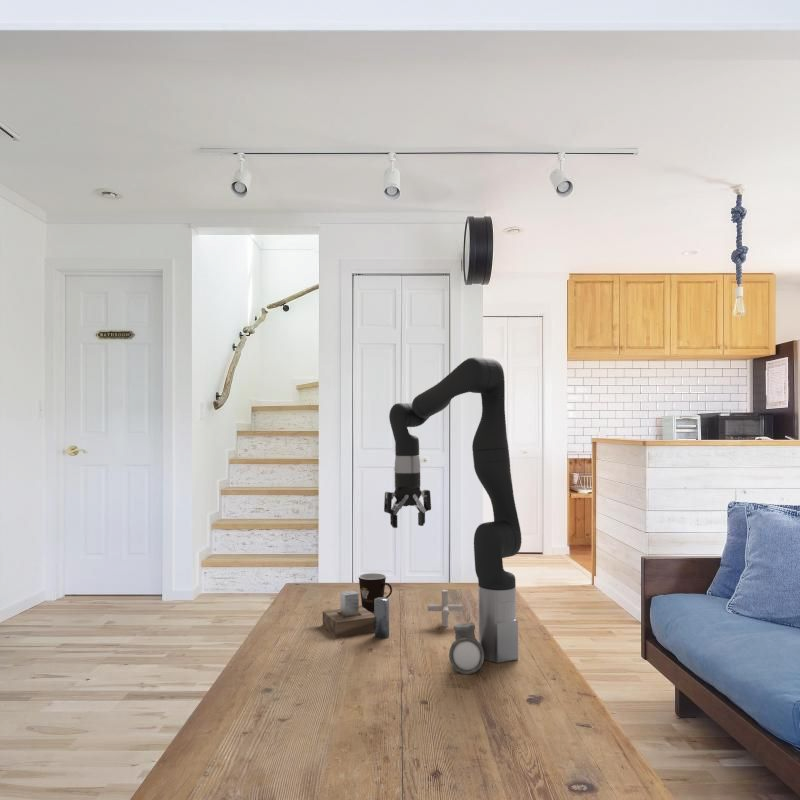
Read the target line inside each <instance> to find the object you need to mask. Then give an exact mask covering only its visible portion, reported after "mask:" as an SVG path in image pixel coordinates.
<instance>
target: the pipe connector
mask: <svg viewBox="0 0 800 800" xmlns="http://www.w3.org/2000/svg"><path fill="white" fill-rule="evenodd" d="M463 608H464V607H463V604H449V590H448V589H442V590H441V602H440V604H427V612H441V626H442V627H444V628H445V627H449V615H450V612H463Z"/></svg>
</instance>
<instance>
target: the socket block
mask: <svg viewBox="0 0 800 800" xmlns="http://www.w3.org/2000/svg"><path fill="white" fill-rule="evenodd" d="M323 625H324V626H325V627H326V628H325V627H324V626H323ZM322 626H323V627H324V628H325V629H326V630H327V631H329V632H330V633H331V632H332V633H333V634H334V635H335V637H336V638H341V636H342V637H348V635H349V636H353V635H355V636H356V635H360V634H367V633H375V627H374V613H372V611H368V610H366V609H365V608H363V607H362V605H359V616H354V617H346V618H343V617H341V608H335V609H328V610H322ZM332 633H331V634H332ZM334 635H333V636H334Z"/></svg>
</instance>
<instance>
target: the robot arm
mask: <svg viewBox="0 0 800 800" xmlns="http://www.w3.org/2000/svg"><path fill="white" fill-rule="evenodd" d="M505 387H506V385H505V372H504V368H503V366H502V364H501V363H500V362H499V361H498V360H497V359H494V358H486V357H479V356H478V357H477V356H476V357H475V356H474V357H470V358H466V359H465V360H464V361H462V362H461V363H460V364H459V365H457V366H456V367H455V368H454V369H453V370H452V371H451V372H450V373H448V374H447V375H446V376H445V377H444V378H442V380H440V381H439V382H438V383H437V384H435V385H433V386H431V387H430V388H428V389H426V390H425V391H423V392H421V393H419V394H418V395H416V396H415V397H414V398H413V400H412V403H408V402H407V403H403V402H402V403H400V402H397V403H395V404H393V405H392V406H391V408H390V410H389V417H388V419H389V424H390V427H391V431H392V435H393V438H394V442H395V447H394V448H395V451H394V452H395V453H394V454H395V459H394V468H393V469H394V489H395V490H394V492H391V491H385V492H384V503H383V504H384V505H383V507H384V509H383V511H384V513H386V514H389V516H390V526H392V528H393V529H397V528H398V512H399V511H400V510H402V508H403V507H409V506H414V507H415V508H416V509H417V510H418V512H417V524H418V526H420V527H423V526H424V525H425V524H426V512H428V511H431V510H432V502H431V491H430V490H429V489H423V490H421V461H420V460H421V459H420V440H419V437H418V436H416V435H413V434H410V432H409V429H408V428H417V427H420V426H422V425H423V424H424V423H426V422H427V421H428V420H429V419H430V417H432V416H433V415H435V414H438V413H439V412H441V411H443V410H444V409H446V408H447V407H448V406H449V404H450V402H451V401H452V400H453V398H455V397H458V396H460V395H463V394H466V393H467V394H468V393H473V394H480V396H481V397H480V398H481V407H482V409H481V417H480V421H479V423H478V425H477V429H476V431H475V433H474V437H473V441H472V444H471V445H472V447H471V448H472V458H473V461H472V462H473V468H474V471H475V475H476V476H477V478H478V481H479V482H480V484H481V486H482V488H484V490H485V492H486V493H487V495H488V498H489V500H490V502H491V506H492V507H491V508H492V512H493V514H492V515H493V521H489V522H483V523H480V524H478V526H477V527H476V529H475V532H474V535H473V554H474V555H473V556H474V570H475V575H476V577H477V583H478V591H477V592H478V642H479V643H480V645H481V646H482V648H483V652H484V660H486V661H488V662H489V661H491V662H494V663H497V664H499V663H505V662H510V661H515V660H519V622H518V619H517V609H516V608H517V602H516V600H517V599H516V595H517V594H516V591H517V590H516V589H517V587H516V583H517V582H516V576H515V575H514V574H513V572H510V571H506V570H505V569H504V566H503V563H504V562H503V559H504V558H509V557H513V556H516V555H517V554H518V553H519V551H520V550H521V547H522V531H521V526H520V521H519V517H518V516H519V515H518V512H517V506H516V502H515V494H514V489H513V487H514V486H513V480H512V474H511V472H512V471H511V460H510V459H511V458H510V449H509V442H508V433H507V424H506V421H507V420H506V407H505V406H506V405H505V404H506V402H505V400H506V399H505V398H506V396H505V395H506V394H505V392H506V391H505V389H506V388H505ZM420 497H422V498H423V503H422V502H421V500H420ZM394 498H395V499H396V500H395V501H394V503H392V501H393V500H394ZM392 504H393V505H392Z"/></svg>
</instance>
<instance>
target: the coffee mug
mask: <svg viewBox="0 0 800 800" xmlns="http://www.w3.org/2000/svg"><path fill="white" fill-rule="evenodd" d="M386 579H387V577H386V574H383V573H375V572H371V573H363V574H362V573H361V574H360V575H358V583H359V592H360V599H361V600H360V601H361V606H362V607H363V608H365V609H366V610H368V611H369V612H374V599H375V598H379V597H385V598H390V596H391V595H392V593H393V587H392V585H391V584H390V583H388V582H386ZM386 586H387V587H388V588H389V593H388V594H387V595H386V596H385V588H386Z"/></svg>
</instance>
